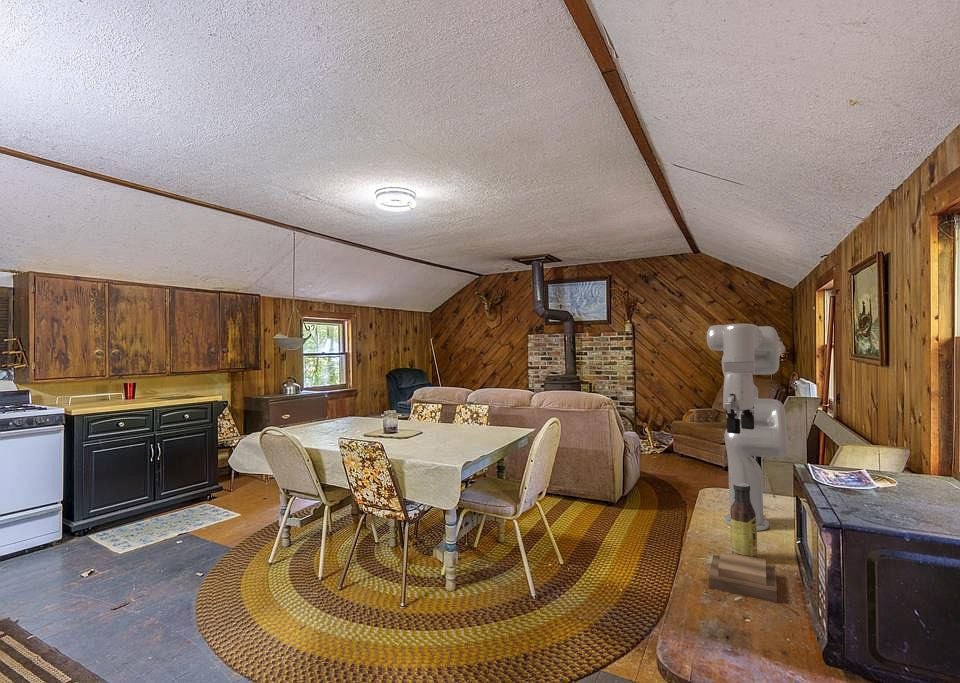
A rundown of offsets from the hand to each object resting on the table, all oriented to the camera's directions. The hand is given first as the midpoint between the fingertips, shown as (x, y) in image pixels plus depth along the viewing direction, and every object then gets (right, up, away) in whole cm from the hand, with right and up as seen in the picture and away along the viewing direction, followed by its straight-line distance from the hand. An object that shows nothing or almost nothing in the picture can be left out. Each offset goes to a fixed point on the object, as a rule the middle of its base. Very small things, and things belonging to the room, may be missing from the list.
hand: (740, 431), depth 132 cm
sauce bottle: (+1, -35, -1) cm, 35 cm away
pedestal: (-7, -35, -14) cm, 38 cm away
